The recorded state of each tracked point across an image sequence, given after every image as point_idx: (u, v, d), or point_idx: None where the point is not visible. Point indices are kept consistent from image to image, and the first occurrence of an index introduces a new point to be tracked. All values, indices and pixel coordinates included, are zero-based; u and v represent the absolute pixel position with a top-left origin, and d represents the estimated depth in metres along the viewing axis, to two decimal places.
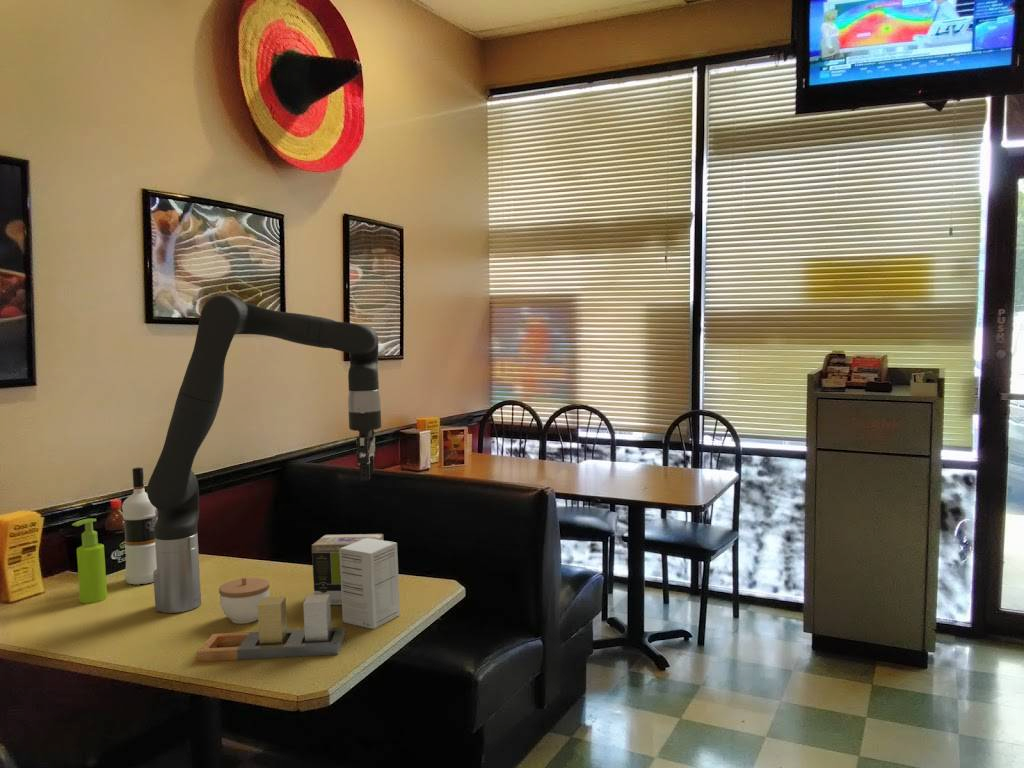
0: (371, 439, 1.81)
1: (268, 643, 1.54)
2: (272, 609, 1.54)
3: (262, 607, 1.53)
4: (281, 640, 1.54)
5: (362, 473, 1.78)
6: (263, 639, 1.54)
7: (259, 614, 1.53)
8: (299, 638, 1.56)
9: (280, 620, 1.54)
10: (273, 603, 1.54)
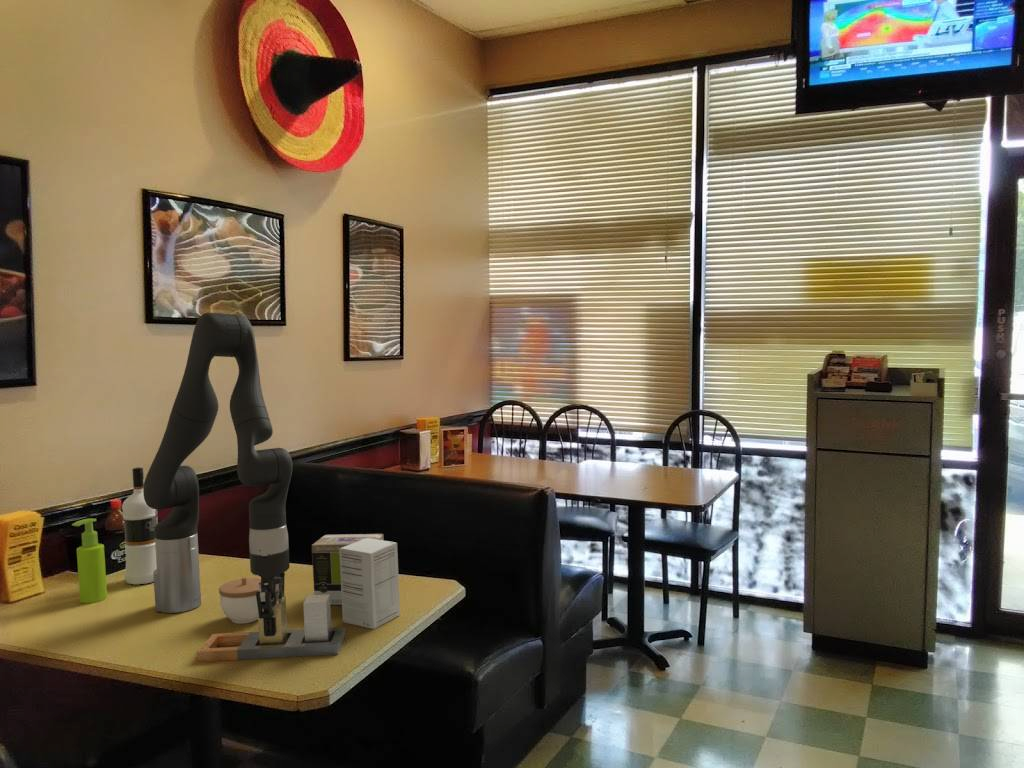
0: (276, 585, 1.54)
1: (268, 643, 1.54)
2: None
3: None
4: (281, 640, 1.54)
5: (266, 628, 1.52)
6: (263, 639, 1.54)
7: None
8: (299, 638, 1.56)
9: (280, 620, 1.54)
10: None
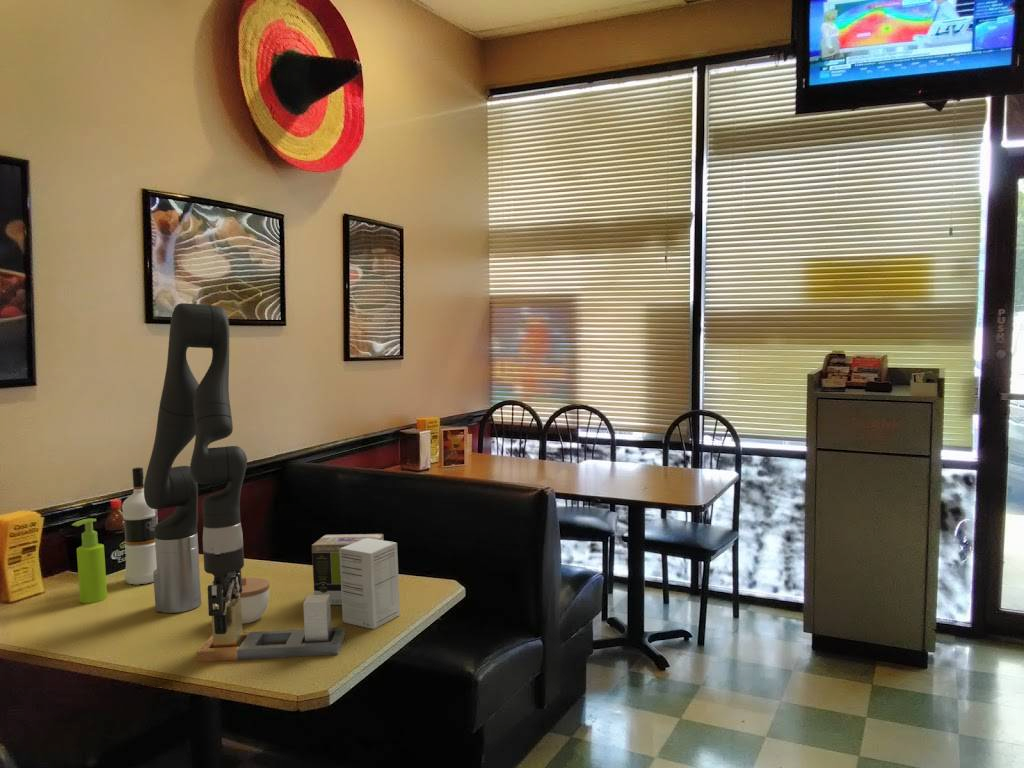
0: (230, 583, 1.53)
1: (222, 645, 1.53)
2: None
3: None
4: (235, 642, 1.54)
5: (216, 626, 1.50)
6: (217, 641, 1.53)
7: (213, 616, 1.53)
8: (299, 638, 1.56)
9: (234, 622, 1.53)
10: (227, 605, 1.54)
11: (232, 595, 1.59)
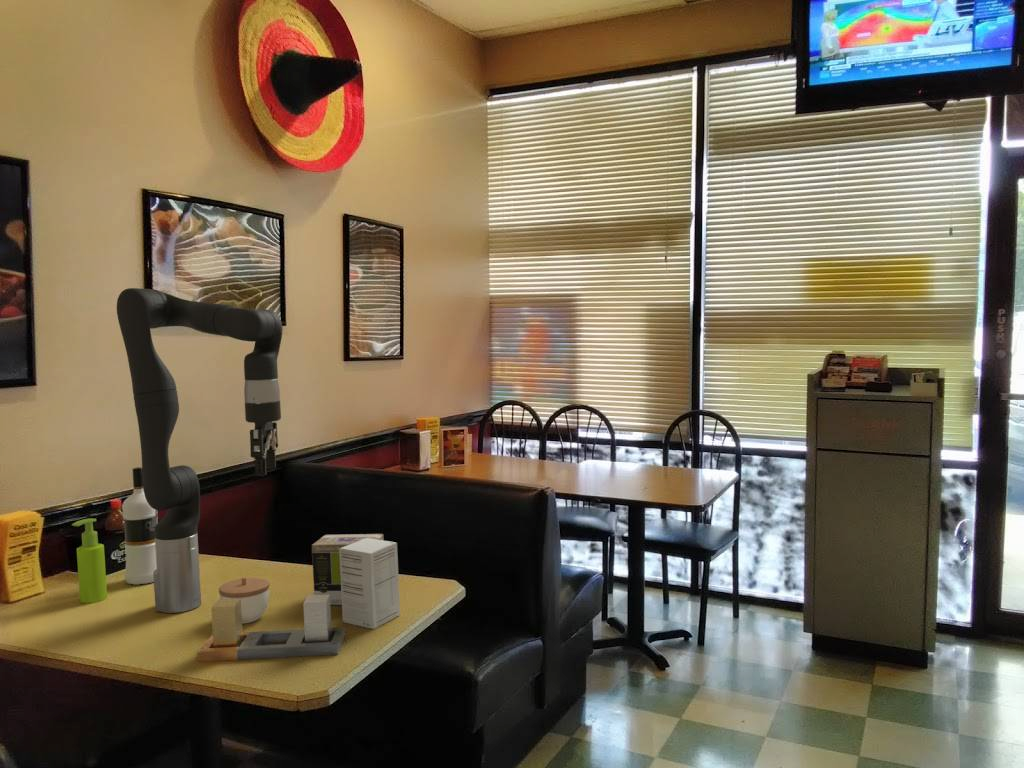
0: (269, 432, 1.69)
1: (222, 645, 1.53)
2: (226, 611, 1.53)
3: (216, 609, 1.53)
4: (235, 642, 1.54)
5: (257, 468, 1.66)
6: (217, 641, 1.53)
7: (213, 616, 1.53)
8: (299, 638, 1.56)
9: (234, 622, 1.53)
10: (227, 605, 1.54)
11: (269, 448, 1.76)
